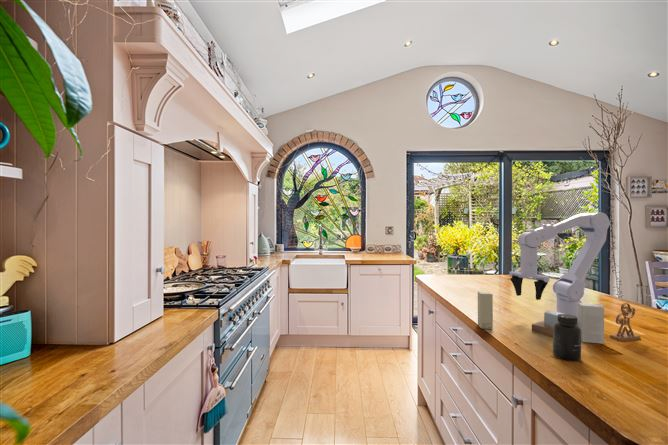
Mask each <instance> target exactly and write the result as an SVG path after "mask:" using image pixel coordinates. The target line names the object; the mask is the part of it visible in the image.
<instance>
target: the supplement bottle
mask: <svg viewBox="0 0 668 445" xmlns="http://www.w3.org/2000/svg"><path fill="white" fill-rule="evenodd" d="M557 321H558V323H556V324H555V325H554V327H553V337H552V354H553V355H554V357H557V358H559V359H560V360H564V361H570V362H579V361H581V359H582V341H581V340H582V331H581V329H580V328H579V327H578V318H577V317H576V316H573V315H568V314H558V319H557Z"/></svg>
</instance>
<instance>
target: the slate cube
mask: <svg viewBox="0 0 668 445" xmlns="http://www.w3.org/2000/svg"><path fill="white" fill-rule="evenodd" d="M558 314H563V313H559V312H557V311H556V310H555V311H554V310H548V311H544V313H543V316H544V317H543V321H544V325H546V326H550V327H554V325H555V324H556V323H558V321H557V319H558Z"/></svg>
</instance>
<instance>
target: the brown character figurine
mask: <svg viewBox="0 0 668 445" xmlns="http://www.w3.org/2000/svg"><path fill="white" fill-rule="evenodd" d="M626 305H627V306H626ZM620 311H621V313H619V314H617V316H616V317H615V323H616V324H617V325H620V326H619V329H618V331H617V333H613V334H609V338H610V339H611V340H612V339H613V340H615V341H619V342H629V341H636V340H637V341H638V340H641V335H638V334H635V333H634V331H633V329H632V327H631V325H630V319H633V317H634V316H635V315H636V309H635V307H631V305H630V303H628V302H623V303H622V304H621V306H620ZM630 314H631V315H630ZM629 315H630V316H629ZM621 316H622V317H623V318H620V317H621ZM628 329H629V330H628Z"/></svg>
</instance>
